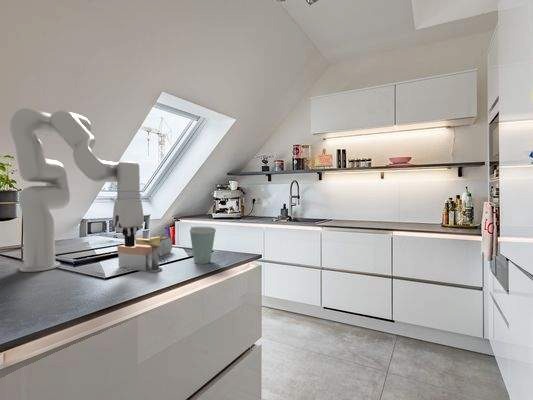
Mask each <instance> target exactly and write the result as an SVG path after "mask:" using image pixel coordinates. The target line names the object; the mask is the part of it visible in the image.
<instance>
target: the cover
mask: <svg viewBox="0 0 533 400" xmlns="http://www.w3.org/2000/svg"><path fill="white" fill-rule="evenodd" d="M116 249H117V254H118V253H125V254H134V255H142V256H143V255H147V254H151V253H152V246H149V245H139V244H135V246H132V247H126V246H125V244H121V245H118V246H117V248H116Z"/></svg>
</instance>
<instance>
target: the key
mask: <svg viewBox="0 0 533 400" xmlns="http://www.w3.org/2000/svg"><path fill="white" fill-rule="evenodd" d="M160 237H161V236H154V237H150V238H139V237H138V238H135V244H139V245H149V246H160Z"/></svg>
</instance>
